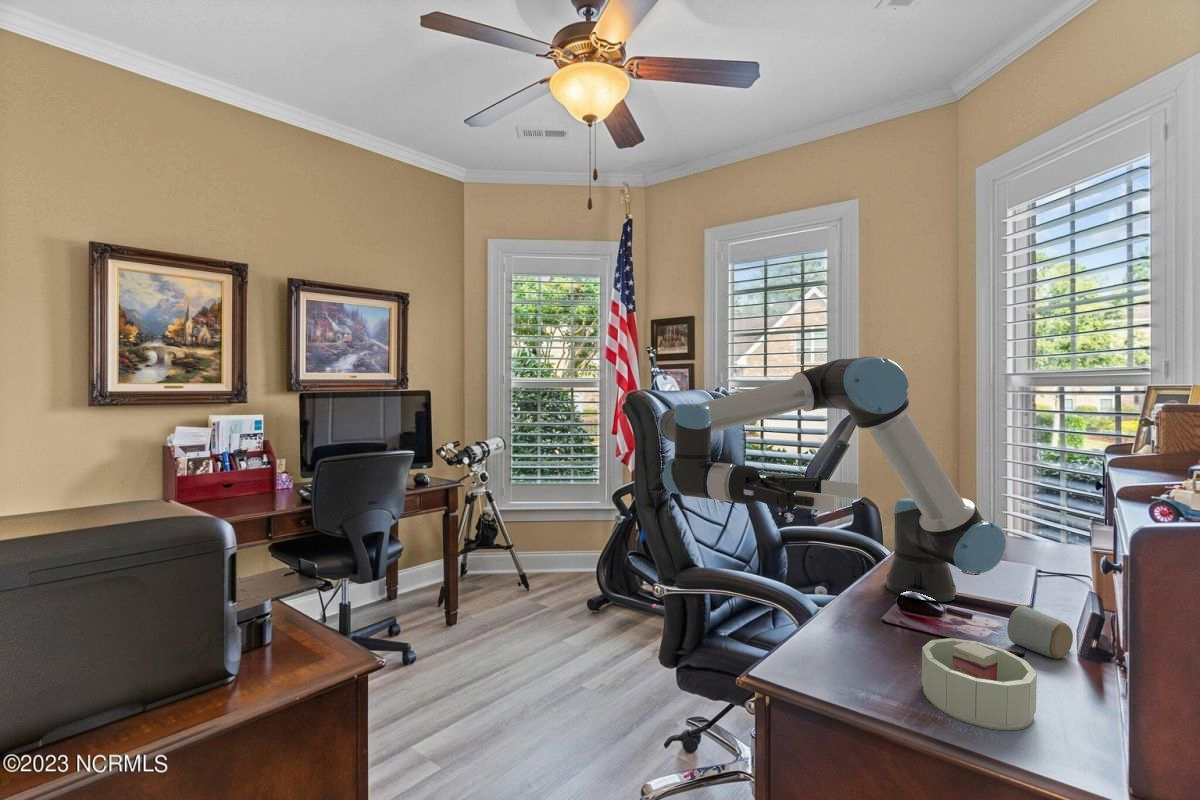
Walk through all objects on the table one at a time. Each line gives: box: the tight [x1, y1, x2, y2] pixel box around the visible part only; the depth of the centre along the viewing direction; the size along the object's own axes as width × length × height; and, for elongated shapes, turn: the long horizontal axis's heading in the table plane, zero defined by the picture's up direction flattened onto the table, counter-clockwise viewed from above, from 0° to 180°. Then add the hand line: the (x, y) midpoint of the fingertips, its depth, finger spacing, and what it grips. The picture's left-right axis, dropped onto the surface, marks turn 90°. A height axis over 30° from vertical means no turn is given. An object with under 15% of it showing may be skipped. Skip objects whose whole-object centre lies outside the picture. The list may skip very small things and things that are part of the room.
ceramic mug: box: [1006, 605, 1074, 660], centre depth 110 cm, size 11×8×8 cm
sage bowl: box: [921, 637, 1038, 732], centre depth 92 cm, size 15×15×7 cm
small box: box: [952, 640, 998, 681], centre depth 92 cm, size 5×4×8 cm
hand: (847, 497), depth 99 cm, fingers open, 13 cm apart
